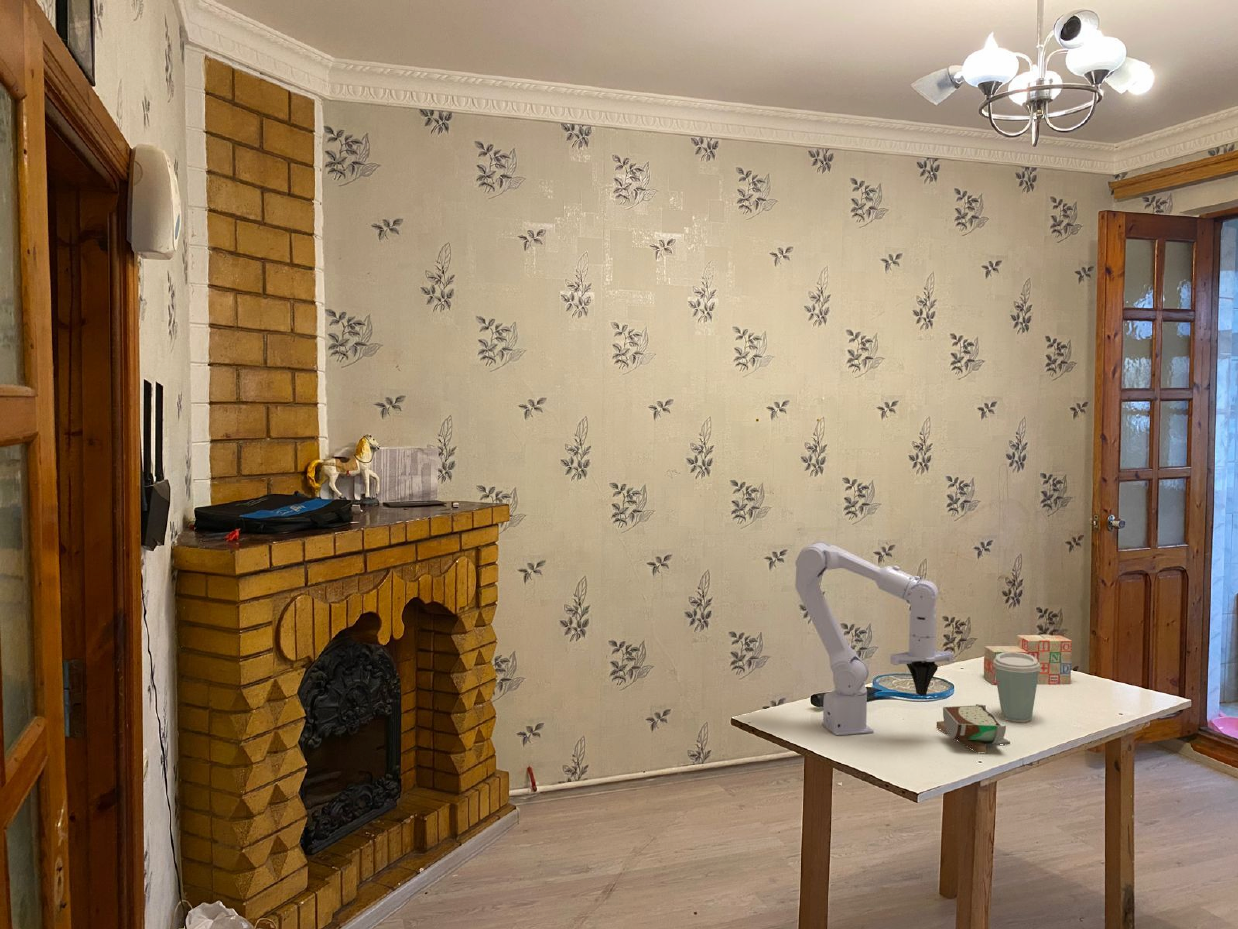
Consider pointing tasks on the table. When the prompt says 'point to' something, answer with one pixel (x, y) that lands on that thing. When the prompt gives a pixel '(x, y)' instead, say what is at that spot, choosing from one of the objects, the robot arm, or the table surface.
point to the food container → (972, 724)
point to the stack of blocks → (1037, 657)
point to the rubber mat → (996, 743)
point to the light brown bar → (970, 743)
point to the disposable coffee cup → (1016, 684)
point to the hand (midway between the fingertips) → (921, 694)
